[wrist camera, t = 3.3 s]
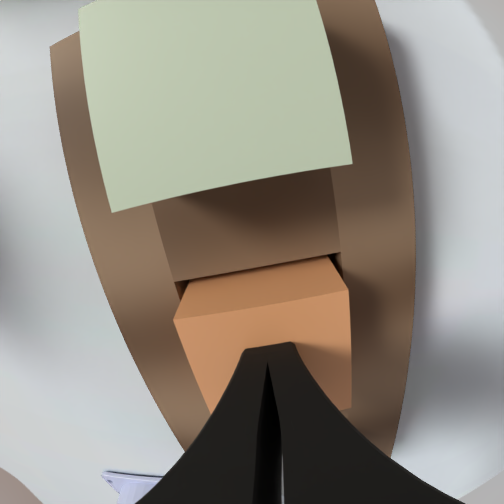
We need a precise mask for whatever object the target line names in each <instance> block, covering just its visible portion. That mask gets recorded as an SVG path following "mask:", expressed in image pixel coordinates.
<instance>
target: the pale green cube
mask: <svg viewBox="0 0 504 504" xmlns="http://www.w3.org/2000/svg"><path fill="white" fill-rule="evenodd" d="M78 16H79V32H80V45H81V55H82V64H83V73H84V80H85V88H86V95H87V101H88V107H89V113H90V119H91V125H92V130H93V135H94V140H95V145H96V150H97V155H98V159H99V164H100V168H101V172H102V177H103V181H104V185H105V189H106V193H107V197H108V200H109V204H110V208H111V212H112V213H113V212H117V211H121V210H125V209H128V208H132V207H136V206H140V205H144V204H148V203H152V202H156V201H160V200H164V199H168V198H172V197H177V196H181V195H185V194H190V193H194V192H199V191H203V190H208V189H212V188H217V187H222V186H227V185H232V184H237V183H242V182H247V181H252V180H257V179H262V178H268V177H273V176H279V175H285V174H290V173H296V172H302V171H309V170H315V169H321V168H328V167H335V166H342V165H349V164H353V163H352V156H351V150H350V143H349V137H348V131H347V126H346V120H345V115H344V110H343V105H342V100H341V95H340V90H339V85H338V81H337V76H336V72H335V68H334V63H333V59H332V55H331V51H330V47H329V43H328V40H327V36H326V32H325V29H324V25H323V22H322V18H321V15H320V11H319V8H318V5H317V1H316V0H96V1H94V2H92V3H90V4H88V5H85V6H83V7H81V8H79V9H78Z"/></svg>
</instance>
